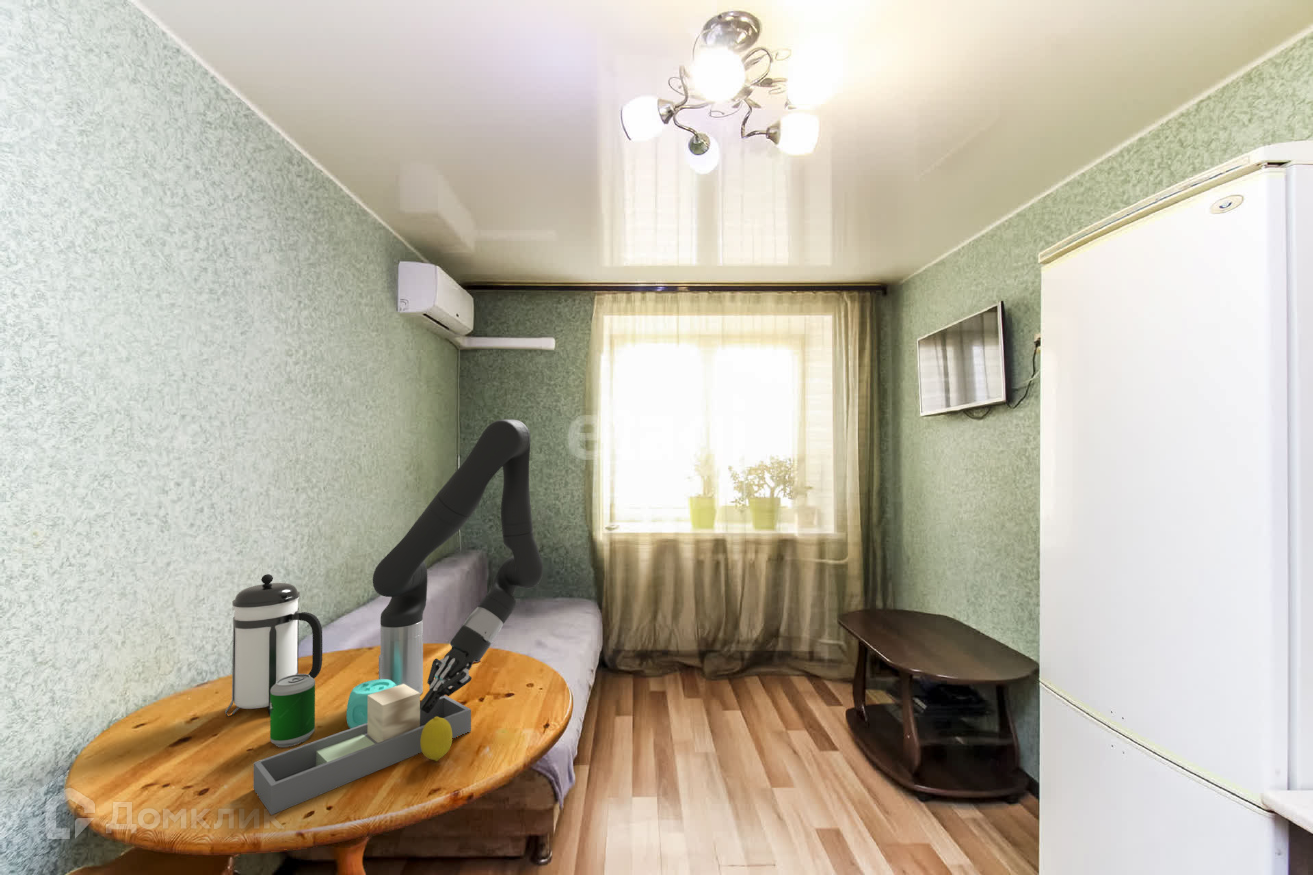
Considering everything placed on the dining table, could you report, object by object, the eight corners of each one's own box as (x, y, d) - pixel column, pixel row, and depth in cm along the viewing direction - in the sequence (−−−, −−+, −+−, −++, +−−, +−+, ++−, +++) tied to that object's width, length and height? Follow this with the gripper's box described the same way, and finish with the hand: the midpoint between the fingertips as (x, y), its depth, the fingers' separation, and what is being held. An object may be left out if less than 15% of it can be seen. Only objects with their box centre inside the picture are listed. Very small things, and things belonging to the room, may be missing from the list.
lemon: (433, 772, 99) (433, 726, 99) (414, 763, 102) (414, 719, 102) (458, 757, 103) (458, 714, 104) (439, 749, 106) (439, 707, 107)
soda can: (323, 733, 114) (323, 674, 114) (288, 752, 107) (289, 688, 107) (296, 728, 116) (297, 670, 117) (260, 746, 109) (261, 684, 109)
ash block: (403, 721, 112) (403, 683, 112) (419, 732, 107) (419, 692, 108) (367, 734, 107) (367, 695, 107) (382, 746, 102) (382, 705, 102)
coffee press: (228, 729, 116) (229, 585, 117) (222, 704, 128) (224, 574, 129) (322, 704, 128) (323, 573, 129) (309, 683, 140) (310, 564, 141)
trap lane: (445, 716, 120) (445, 695, 120) (471, 731, 113) (470, 709, 113) (253, 789, 94) (253, 762, 95) (271, 814, 87) (271, 785, 88)
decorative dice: (359, 717, 120) (359, 680, 121) (398, 713, 122) (398, 677, 122) (345, 735, 113) (346, 695, 113) (388, 731, 114) (388, 691, 115)
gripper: (450, 618, 124) (395, 692, 114) (482, 630, 115) (425, 711, 105) (472, 636, 127) (420, 709, 118) (505, 649, 119) (451, 729, 109)
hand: (422, 710), depth 111 cm, fingers closed
